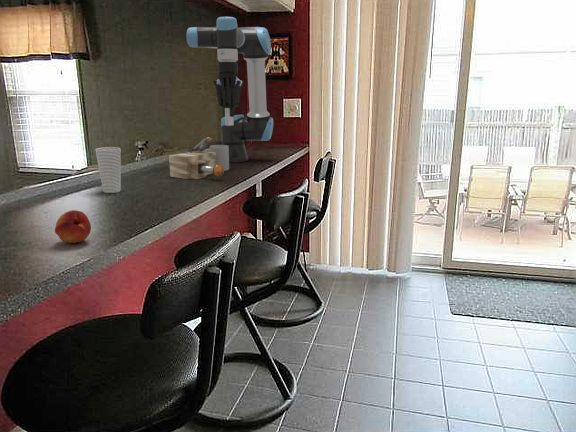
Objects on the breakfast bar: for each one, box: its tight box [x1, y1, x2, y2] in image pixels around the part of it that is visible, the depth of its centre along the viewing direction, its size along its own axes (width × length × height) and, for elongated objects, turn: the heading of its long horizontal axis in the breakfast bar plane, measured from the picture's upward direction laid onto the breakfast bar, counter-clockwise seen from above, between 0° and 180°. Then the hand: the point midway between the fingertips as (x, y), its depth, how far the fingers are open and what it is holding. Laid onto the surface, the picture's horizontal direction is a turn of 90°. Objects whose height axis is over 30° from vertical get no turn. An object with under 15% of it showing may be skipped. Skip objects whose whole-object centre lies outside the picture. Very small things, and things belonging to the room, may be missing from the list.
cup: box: [94, 146, 122, 194], centre depth 167 cm, size 8×8×16 cm
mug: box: [203, 144, 230, 172], centre depth 215 cm, size 12×8×11 cm
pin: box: [198, 165, 225, 178], centre depth 193 cm, size 5×17×5 cm, turn 57°
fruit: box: [54, 209, 92, 244], centre depth 111 cm, size 8×8×8 cm
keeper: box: [191, 136, 213, 152], centre depth 204 cm, size 5×11×2 cm
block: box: [168, 148, 216, 180], centre depth 200 cm, size 18×14×11 cm
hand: (229, 125), depth 181 cm, fingers closed
